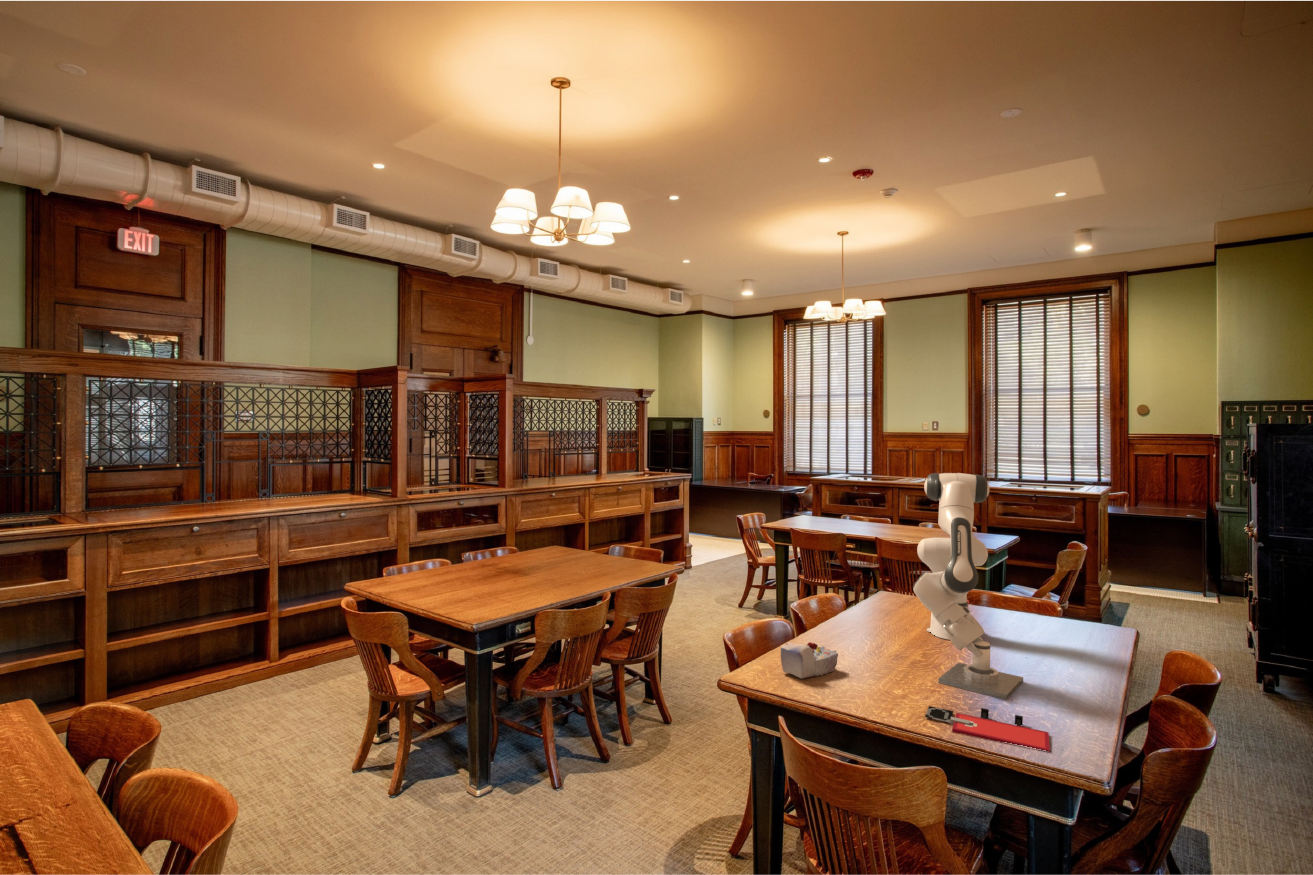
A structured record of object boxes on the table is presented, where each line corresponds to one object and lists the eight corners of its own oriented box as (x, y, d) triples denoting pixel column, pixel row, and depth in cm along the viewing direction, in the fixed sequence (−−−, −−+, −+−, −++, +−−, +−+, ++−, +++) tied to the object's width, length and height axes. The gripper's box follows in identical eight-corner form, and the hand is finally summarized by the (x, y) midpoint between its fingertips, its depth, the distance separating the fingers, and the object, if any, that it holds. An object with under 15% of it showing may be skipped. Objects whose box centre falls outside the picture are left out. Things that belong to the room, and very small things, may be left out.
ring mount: (958, 666, 227) (958, 655, 227) (1023, 681, 213) (1023, 669, 213) (938, 682, 212) (938, 670, 212) (1006, 699, 198) (1006, 686, 198)
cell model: (776, 641, 219) (810, 630, 232) (775, 673, 219) (810, 661, 232) (809, 650, 209) (843, 639, 223) (808, 684, 209) (842, 671, 223)
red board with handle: (929, 706, 193) (922, 726, 180) (929, 697, 193) (922, 716, 180) (1048, 731, 178) (1049, 755, 165) (1048, 721, 178) (1049, 744, 165)
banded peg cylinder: (975, 663, 216) (975, 639, 216) (992, 667, 213) (992, 642, 213) (970, 667, 212) (970, 642, 212) (987, 671, 209) (987, 646, 209)
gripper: (948, 618, 209) (981, 656, 203) (968, 606, 225) (999, 641, 218) (934, 629, 212) (966, 667, 206) (955, 617, 228) (985, 651, 221)
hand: (983, 653), depth 212 cm, fingers closed on banded peg cylinder, 5 cm apart
